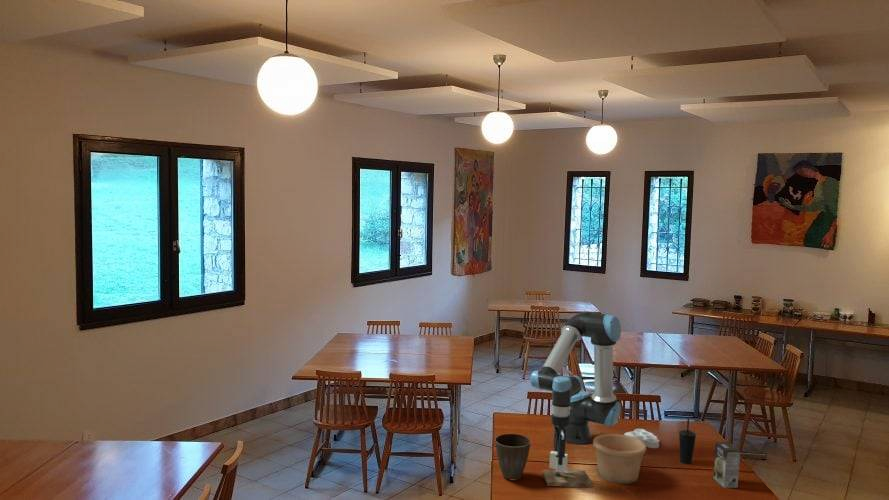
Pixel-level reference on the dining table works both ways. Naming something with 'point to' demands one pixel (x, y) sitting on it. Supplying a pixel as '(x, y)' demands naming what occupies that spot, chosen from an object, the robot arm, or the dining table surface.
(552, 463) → the white slab
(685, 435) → the drinking cup
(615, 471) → the pottery
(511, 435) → the plant pot
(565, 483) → the brown flat rectangular block
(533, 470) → the dining table surface
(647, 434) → the knuckle duster
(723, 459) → the coffee box
